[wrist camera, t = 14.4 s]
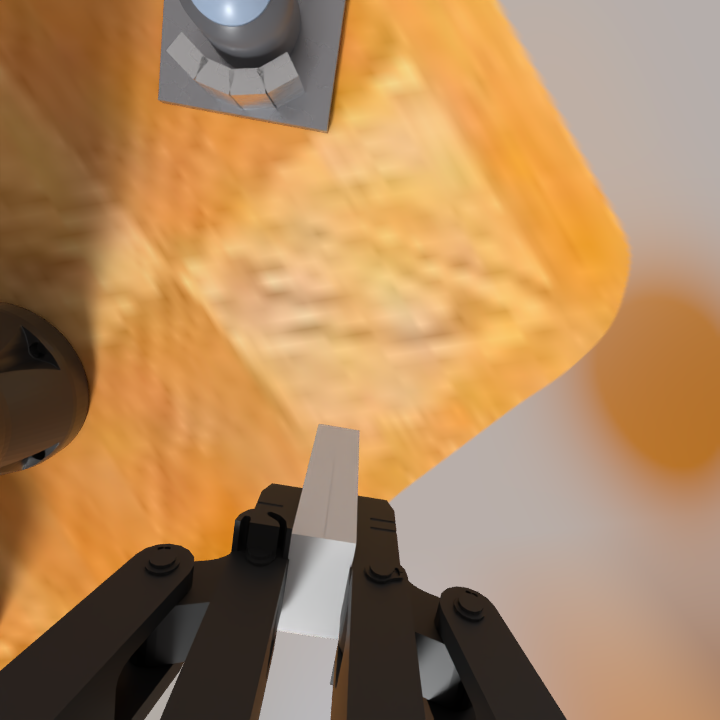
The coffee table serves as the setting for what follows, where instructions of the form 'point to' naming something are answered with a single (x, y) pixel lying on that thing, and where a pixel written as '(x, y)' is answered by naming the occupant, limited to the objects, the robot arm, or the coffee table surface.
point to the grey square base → (255, 70)
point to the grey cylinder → (247, 28)
